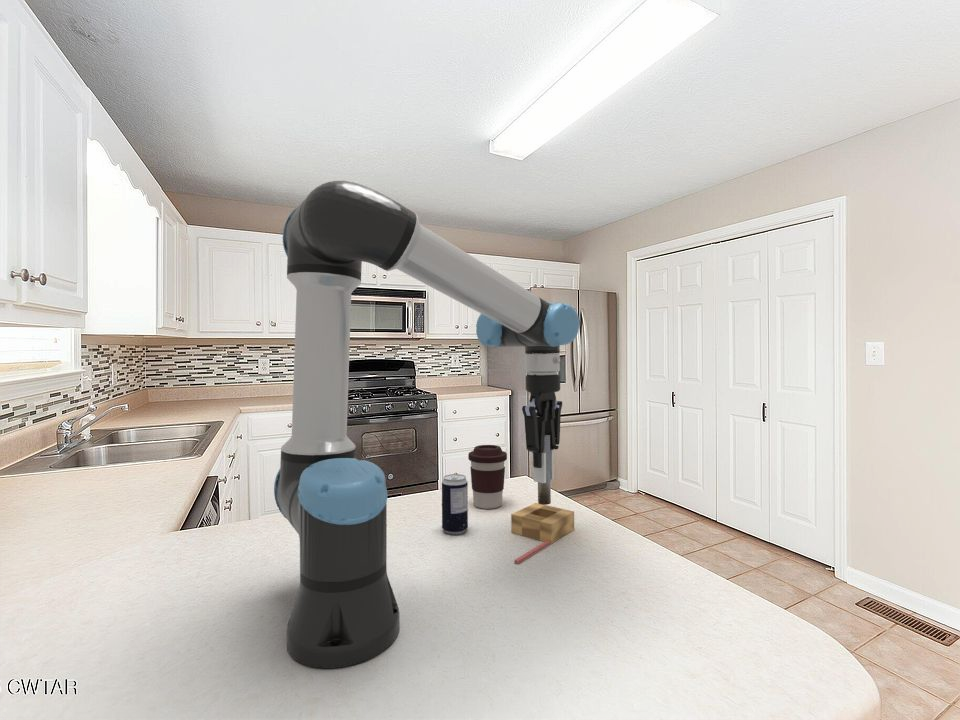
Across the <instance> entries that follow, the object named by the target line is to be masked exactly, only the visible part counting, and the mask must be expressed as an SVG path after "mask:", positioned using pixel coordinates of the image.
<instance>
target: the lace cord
mask: <svg viewBox="0 0 960 720" xmlns="http://www.w3.org/2000/svg"><path fill="white" fill-rule="evenodd" d="M549 545H552V544H551V541H550V540H547V541H545V542H543V541H542V543H540V544H538V545H536V546H535V547H533V548H532V549H530V550H528V551H527V552H525V553H523V554H522V555H520V556H518V557H517V558H515V559H514V564H516V565H519V564H521V563H522V562H524V561H525V560H527V559H529V558H531V557H532V556H534V555H535V554H536V553H538V552H540V551H542V550H543V549H545V548H547V547H548V546H549Z"/></svg>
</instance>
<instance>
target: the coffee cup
mask: <svg viewBox="0 0 960 720" xmlns="http://www.w3.org/2000/svg"><path fill="white" fill-rule="evenodd" d="M467 457H468V460H469V462H470V478H471V479H470V480H471V481H470V482H471V489H472V497H473V505H474V506H475V507H476V508H479V509H482V510H483V509H484V510H491V509H498V508H500V507H501V506H502V504H503V493H504V491H503V490H504V489H505V487H504V486H505V472H506V466H505V461H507V459H508V453H507V452H506V451H504V450H502V448H501V446H499V445H495V444H494V445H493V444H481V445H479V444H478V445H475V446H474V448H473V450H472V451H470V452H468V455H467Z"/></svg>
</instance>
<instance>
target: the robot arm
mask: <svg viewBox="0 0 960 720" xmlns="http://www.w3.org/2000/svg"><path fill="white" fill-rule="evenodd" d="M282 246H283V250H284V253H285V255H286V257H287V261H286V262H287V263H286V279H287V280H288V281H289V282H290V283H291V284H292V285H293V286H294V287H295V290H296V294H295V295H296V296H295V297H296V300H295V301H296V303H295V323H294V326H295V327H294V328H295V329H294V331H295V332H294V357H293V359H294V360H293V385H292V386H293V387H292V389H293V390H292V415H291V419H292V420H291V437H290V438H289V439H288V440H287V441H286V442H285V443H284V444H283V445H282V446H281V447H280V465H279V470H278V471H277V473H276V476H275V478H274V485H273V494H274V495H273V496H274V501H275V504H276V506H277V508H278V510H279V512H280V513H281V514H282V516H283V517H284V518H285V519H286V520H287V521H288V523H289V524H290V525H291V527H293V529H294V531H296V533H297V534H298V536H299V537H298V538H299V575H300V576H299V587H298V591H297V593H296V596H295V601H294V603H293V608H292V611H291V615H290V618H289V620H288V622H287V626H286V627H287V628H286V648H287V653H289V655H290V656H291V657H292V658H293V660H295V661H297V662H298V663H301V664H303V665H306V666H309V667H314V668H322V669H323V668H324V669H325V668H326V669H328V668H329V669H332V668H343V667H347V666H353V665H356V664H360V663H362V662H365V661H368V660H370V659H372V658H374V657H376V656H378V655H380V654H381V653H382V652H384V651H385V650H386V649H387V648H389V647H390V646H391V645H392V644H393V643H394V642H395V640H396V639H397V637H398V634H399V632H400V609H399V605H398V603H397V599H396V596H395V593H394V591H393V587H392V585H391V583H390V579H389V577H388V576H389V575H388V572H387V557H388V556H387V543H388V542H387V530H388V529H387V525H388V523H387V520H388V518H387V509H388V508H387V506H388V505H387V502H388V490H387V486H386V485H387V484H386V475H385V473H384V471H383V470H382V469H381V467H379V466H378V465H377V464H375V463H373V462H372V461H368V460H364V459H362V460H361V459H358V458H356V450H357V449H356V446H357V445H356V444H355V443H354V442H353V440H351V439H350V438H349V437H348V435H347V433H348V430H347V429H348V409H349V407H348V405H349V404H348V403H349V371H350V369H349V367H350V349H351V347H350V346H351V345H350V344H351V343H350V342H351V341H350V340H351V311H352V294H353V292H354V291H355V290H356V289H357V288H358V287H359V286H360V285H361V284H362V268H363V267H362V265H363V264H362V263H363V262H364V263H368V264H372V265H374V266H376V267H379V268H380V269H382V270H383V271H386V272H390V271H393V270H398V271H400V272H402V273H404V274H406V275H407V276H409V277H412V278H413V279H415V280H417V281H419V282H420V283H423V284H425V285H427V286H428V287H430V288H432V289H433V290H436V291H438V292H440V293H442V294H444V295H445V296H447V297H449V298H451V299H453V300H455V301H457V302H459V303H460V304H462V305H464V306H466V307H468V308H470V309H471V310H472V311H473V310H474V311H476V312H477V313H479V314H480V315H479V316H478V317H477V320H476V325H475V326H476V327H475V328H476V329H475V330H476V333H475V334H476V338H477V339H478V341H479V342H480V344H481V345H483V346H484V347H489V348H491V347H493V348H511V347H512V348H513V347H514V348H515V347H520V348H521V347H524V351H525V356H524V357H525V359H524V360H525V361H524V362H525V363H524V364H525V365H524V367H525V370H524V371H525V372H526V373H527V374H526V376H525V390H526V392H528V393H530V397H529V403H528V404H527V405H523V406H522V408H521V410H522V414H523V418H524V432H525V433H524V434H525V447H526V450H527V451H528V452H531V453H532V460H533V461H532V465H533V482H536V483H538V482H540V483H546V453H545V452H543V450H544V434H550V474H551V481H553V480H554V479H555V454H554V453H555V451H554V450H558V449H559V445H560V441H561V420H562V419H561V416H562V415H561V414H562V408H563V401H561V400H557V396H556V393H558V392H560V390H561V375H560V374H558V372H560V371H561V363H560V362H561V356H560V354H561V349H560V347H561V346H564V345H565V346H566V345H568V344H570V343H573V341H574V340H575V339H576V338H577V336H578V333H579V329H580V317H579V314H578V312H577V310H576V309H575V308H574V307H573V306H572V305H571V304H568V303H560V302H553V301H551V302H550V301H547V300H546V299H543V298H541V297H539V296H538V295H536V294H534V293H533V292H532V291H529V290H528V289H527V288H524V287H523V286H522V285H520V284H518V283H517V282H515V281H513V280H512V279H510V278H508V277H506V276H505V275H504V274H502V273H500V272H498V271H497V270H495V269H494V268H492V267H490V266H489V265H487V264H486V263H484V262H482V261H480V260H479V259H477V258H476V257H474V256H472V255H470V254H469V253H467V252H466V251H464V250H462V249H461V248H459V247H457V246H456V245H455V244H454V243H453V244H452V243H451V242H449V241H448V240H447V239H444V238H443V237H442V236H439V234H437V233H435V232H433V231H432V230H431V229H428V228H427V227H425V226H423V225H422V224H421V223H420V220H419V216H418V214H417V213H415V212H414V211H412V210H410V209H409V208H407V207H406V206H404V205H403V204H401V203H400V202H398V201H396V200H394V199H392V198H390V197H389V196H388V195H385V194H383V193H381V192H379V191H377V190H375V189H373V188H371V187H368V186H366V185H363V184H360V183H358V182H357V183H356V182H354V181H353V182H351V181H348V180H332V181H327V182H324V183H322V184H319V185H318V186H316V187H315V188H314V189H312V190H311V191H310V192H309V194H308V195H307V196H306V197H305V199H304V200H302V202H301V203H300V204H299V205H298V206H296V208H294V209H293V210H292V211H291V213H290V214H289V215H288V217H287V219H286V221H285V222H284V226H283V230H282Z"/></svg>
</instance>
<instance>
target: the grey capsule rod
mask: <svg viewBox="0 0 960 720" xmlns="http://www.w3.org/2000/svg"><path fill="white" fill-rule="evenodd" d="M543 452H545V453H546V483H540V482H537V503H539V504H542V505H548V506H549V505H550V504H551V503H552V498H551V497H552V495H551V493H552V492H551V489H552V487H551V486H552V485H551V482H552V480H551V474H550V434H544V450H543Z"/></svg>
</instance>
